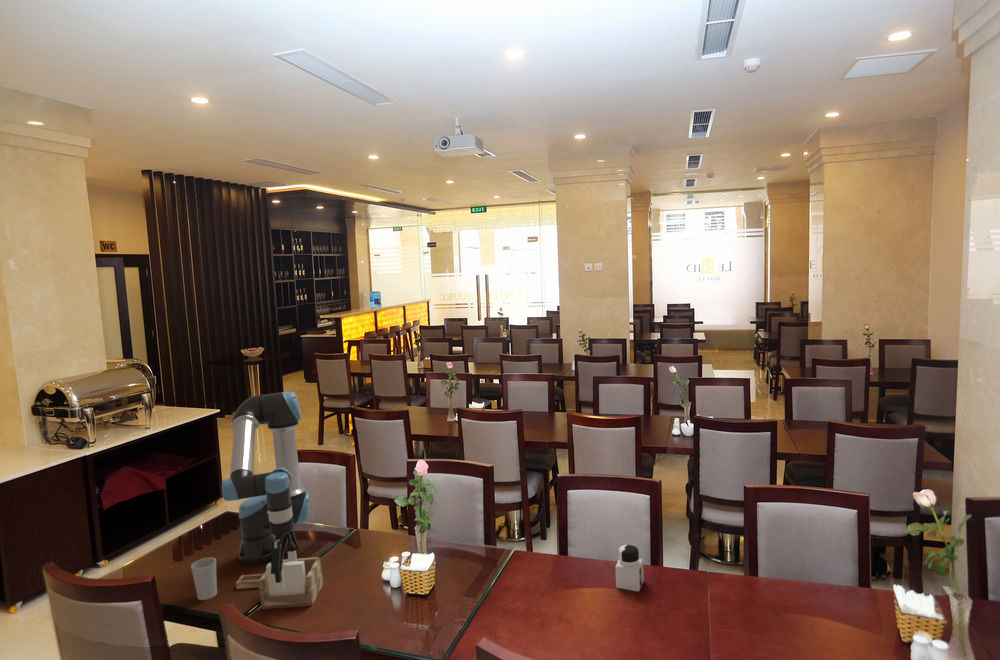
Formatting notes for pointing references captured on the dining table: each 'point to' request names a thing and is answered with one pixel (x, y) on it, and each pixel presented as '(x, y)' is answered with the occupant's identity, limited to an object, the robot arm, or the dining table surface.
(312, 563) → the wooden box
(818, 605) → the dining table surface
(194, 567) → the cup
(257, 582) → the small wooden tray
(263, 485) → the robot arm
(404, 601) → the dining table surface
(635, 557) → the container
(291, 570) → the white square slab
